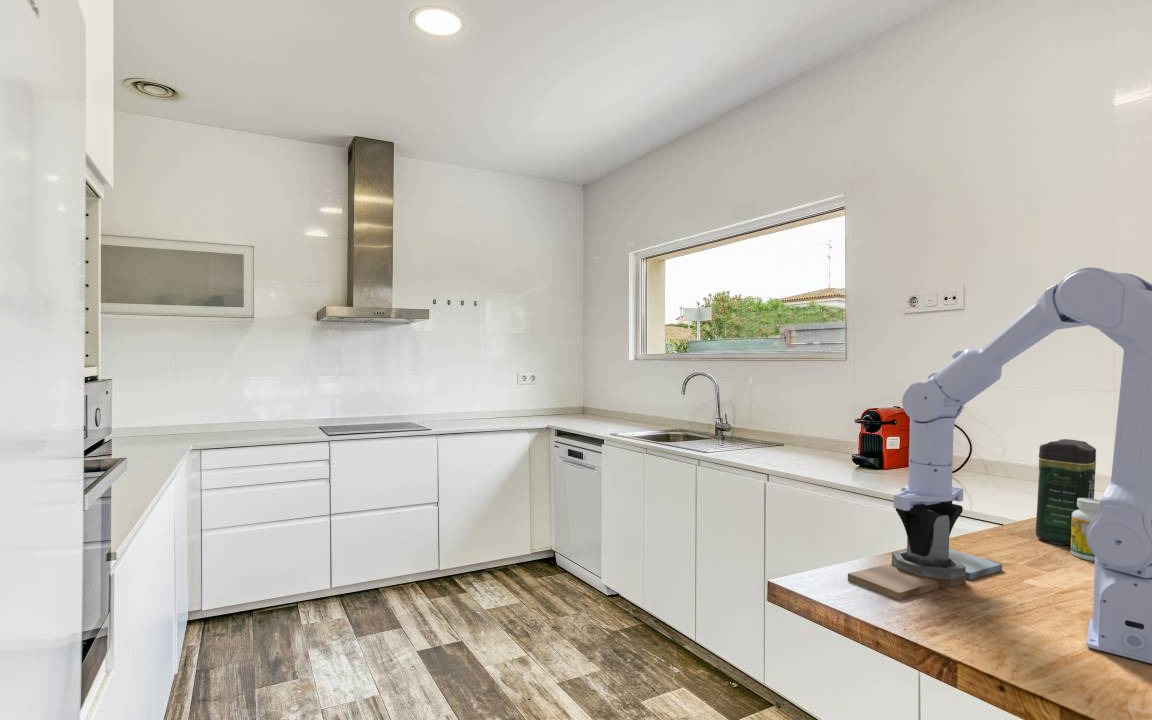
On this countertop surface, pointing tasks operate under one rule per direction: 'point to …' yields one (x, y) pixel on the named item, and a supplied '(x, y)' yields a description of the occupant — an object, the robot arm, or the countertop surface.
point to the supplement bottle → (1083, 527)
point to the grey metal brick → (935, 545)
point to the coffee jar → (1063, 486)
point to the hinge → (922, 574)
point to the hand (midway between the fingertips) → (927, 552)
